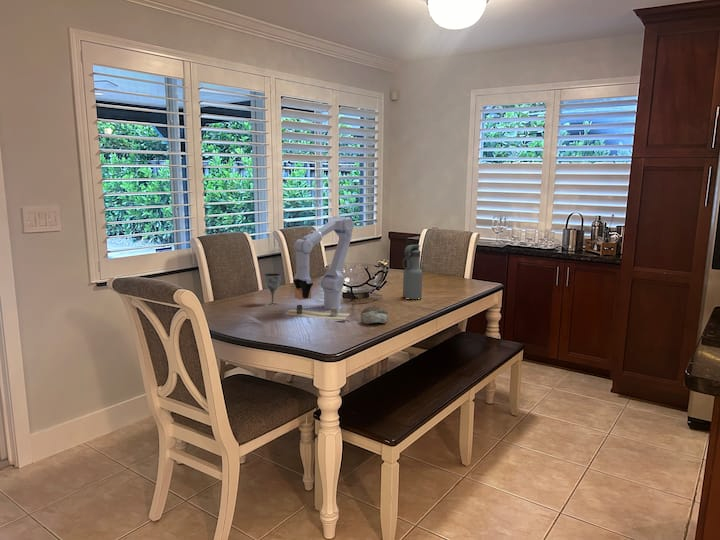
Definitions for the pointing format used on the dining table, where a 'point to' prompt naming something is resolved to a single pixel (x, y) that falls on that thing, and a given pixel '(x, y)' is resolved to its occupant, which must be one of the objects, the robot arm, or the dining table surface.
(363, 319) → the grey rounded lump
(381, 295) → the dining table surface
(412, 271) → the water bottle
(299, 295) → the collar
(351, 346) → the dining table surface
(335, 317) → the board
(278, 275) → the wine glass
